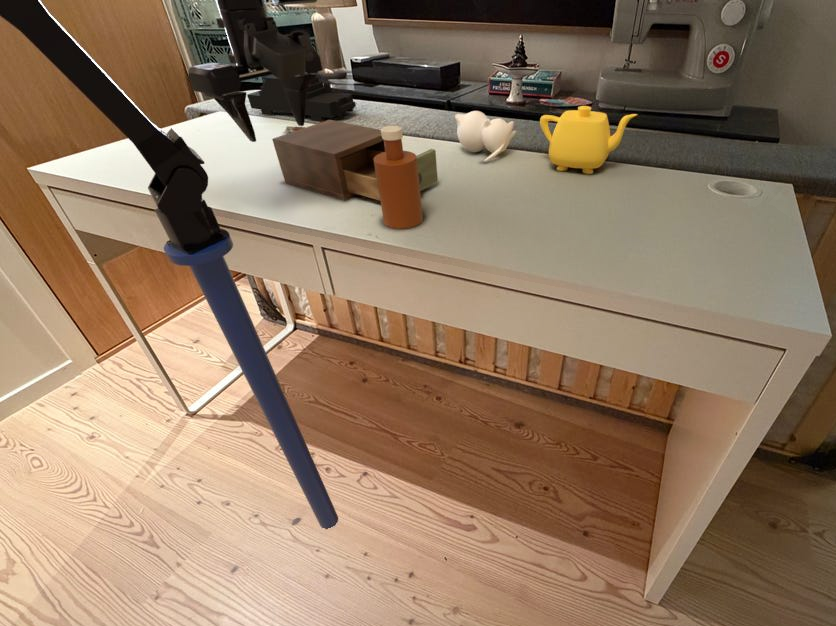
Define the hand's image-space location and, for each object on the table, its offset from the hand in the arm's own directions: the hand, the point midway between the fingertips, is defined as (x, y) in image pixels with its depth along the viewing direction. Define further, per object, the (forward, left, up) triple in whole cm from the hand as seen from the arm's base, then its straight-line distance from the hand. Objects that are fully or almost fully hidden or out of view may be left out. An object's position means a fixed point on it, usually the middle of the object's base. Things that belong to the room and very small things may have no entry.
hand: (278, 133), depth 72 cm
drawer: (+13, -8, -11) cm, 19 cm away
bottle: (+5, -19, -12) cm, 23 cm away
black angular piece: (+42, +46, -12) cm, 63 cm away
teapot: (+43, -34, -12) cm, 56 cm away
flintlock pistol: (+29, +24, -12) cm, 40 cm away
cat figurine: (+39, -13, -12) cm, 43 cm away
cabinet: (+13, +3, -12) cm, 18 cm away
